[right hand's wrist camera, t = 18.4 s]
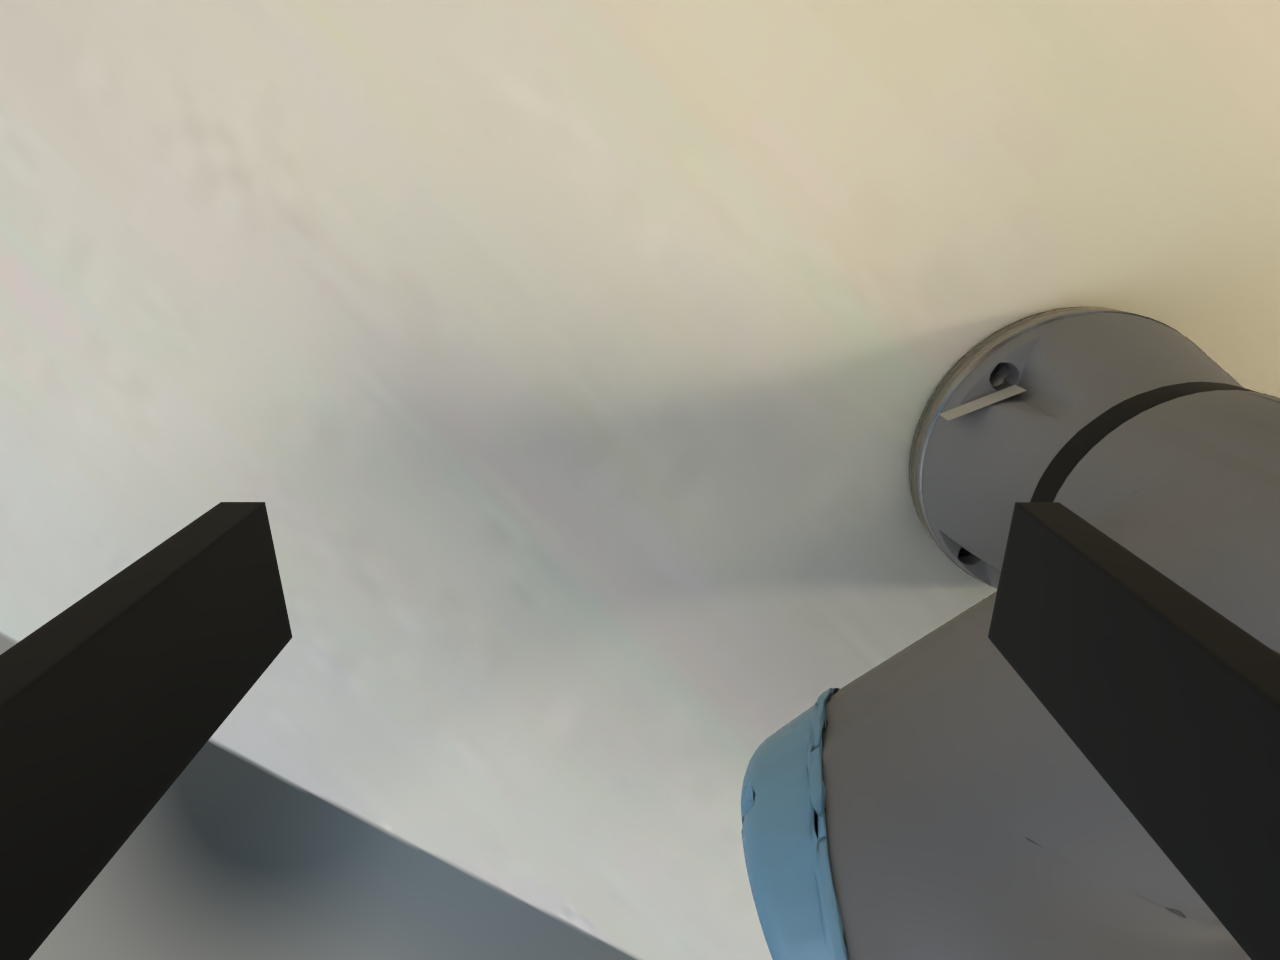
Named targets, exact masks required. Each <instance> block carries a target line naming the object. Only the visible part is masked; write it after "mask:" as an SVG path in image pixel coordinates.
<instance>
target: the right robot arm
mask: <svg viewBox="0 0 1280 960" xmlns="http://www.w3.org/2000/svg"><path fill="white" fill-rule="evenodd" d="M909 480H910V488H911V494H912V498H913V503H914V506H915V509H916V511H917V514H918V516H919V518H920V520H921V522H922V524H923V526H924V528H925V529H926V531H927V532H928V534H929V535H930V537H931V538H932V539H933V540H934V541H935V543H936V544H937V545H938V546H939V547H940V548H941V549H942V551H943V552H944V553H945V554H946V555H947V556H948V557H949V558H950V559H951V560H952V561H953V562H954V563H955V564H956V565H957V566H958V567H960V568H961V569H962V570H964V571H965V572H966V573H968V574H969V575H971V576H973V577H974V578H976V579H978V580H980V581H982V582H984V583H986V584H988V585H990V586H992V587H995V588H997V592H995V593H993V594H992V595H990V596H989V597H987V598H985V599H984V600H982V601H981V602H979V603H977V604H976V605H974V606H973V607H971V608H969V609H968V610H966V611H965V612H963V613H961V614H960V615H958V616H957V617H955V618H953V619H952V620H950V621H949V622H947V623H945V624H944V625H942V626H941V627H939V628H937V629H936V630H934V631H933V632H931V633H929V634H928V635H926V636H924V637H923V638H921V639H920V640H918V641H916V642H915V643H913V644H912V645H910V646H908V647H907V648H905V649H904V650H902V651H900V652H899V653H897V654H896V655H894V656H892V657H891V658H889V659H888V660H886V661H884V662H883V663H881V664H880V665H878V666H876V667H875V668H873V669H872V670H870V671H868V672H867V673H865V674H864V675H862V676H860V677H859V678H857V679H856V680H854V681H852V682H851V683H849V684H848V685H846V686H844V687H843V688H841V689H839V688H834V689H833V688H830V689H828V690H827V691H825V692H823V693H822V694H821V695H820V696H819V698H818V700H817V702H816V704H815V705H814V706H812V707H811V708H809V709H808V710H807V711H805V712H804V713H802V714H801V715H799V716H798V717H797V718H795V719H794V720H792V721H791V722H790V723H788V724H787V725H785V726H784V727H782V728H781V729H780V730H778V731H777V732H775V733H774V734H773V735H771V736H770V737H768V738H767V739H766V740H765V741H764V742H763V743H762V744H761V745H760V746H759V747H758V748H757V750H756V751H755V753H754V754H753V756H752V758H751V760H750V762H749V764H748V767H747V770H746V774H745V777H744V780H743V787H742V795H741V814H742V824H743V825H742V826H743V827H742V840H743V848H744V855H745V861H746V867H747V872H748V877H749V881H750V886H751V890H752V894H753V898H754V902H755V906H756V909H757V913H758V916H759V920H760V923H761V926H762V930H763V933H764V936H765V939H766V942H767V945H768V947H769V950H770V953H771V956H772V959H773V960H1280V398H1277V397H1274V396H1270V395H1266V394H1262V393H1258V392H1255V391H1252V390H1248V389H1245V388H1243V387H1242V386H1241V385H1240V384H1239V383H1238V382H1237V381H1236V380H1235V379H1233V378H1232V377H1231V376H1230V375H1229V374H1228V373H1227V372H1226V371H1224V370H1223V369H1222V368H1221V367H1220V366H1219V365H1218V364H1217V363H1215V362H1214V361H1213V360H1212V359H1211V358H1210V357H1208V356H1207V355H1206V354H1205V353H1204V352H1203V351H1202V350H1201V349H1200V348H1199V347H1198V346H1197V345H1195V344H1194V343H1193V342H1192V341H1191V340H1189V339H1188V338H1187V337H1185V336H1184V335H1182V334H1181V333H1179V332H1178V331H1177V330H1175V329H1173V328H1171V327H1169V326H1168V325H1166V324H1164V323H1161V322H1159V321H1156V320H1154V319H1151V318H1148V317H1144V316H1141V315H1137V314H1133V313H1128V312H1123V311H1118V310H1113V309H1106V308H1098V307H1073V308H1064V309H1058V310H1052V311H1048V312H1044V313H1040V314H1037V315H1034V316H1031V317H1028V318H1025V319H1023V320H1020V321H1018V322H1016V323H1014V324H1011V325H1009V326H1007V327H1006V328H1004V329H1002V330H1000V331H998V332H996V333H995V334H993V335H992V336H990V337H989V338H987V339H986V340H984V341H983V342H981V343H980V344H979V345H977V346H976V347H975V348H974V349H972V350H971V351H970V352H969V353H967V354H966V355H965V356H964V357H963V358H962V359H961V360H960V361H959V362H958V363H957V364H956V365H955V366H954V367H953V368H952V369H951V371H950V372H949V373H948V374H947V375H946V376H945V378H944V379H943V380H942V382H941V383H940V384H939V386H938V387H937V388H936V390H935V392H934V393H933V395H932V396H931V398H930V399H929V401H928V403H927V405H926V407H925V409H924V411H923V413H922V415H921V418H920V420H919V423H918V425H917V428H916V432H915V435H914V438H913V443H912V448H911V453H910V463H909ZM291 638H292V634H291V629H290V624H289V619H288V614H287V609H286V604H285V599H284V594H283V589H282V584H281V579H280V575H279V570H278V565H277V560H276V555H275V550H274V545H273V540H272V535H271V530H270V525H269V520H268V515H267V511H266V506H265V502H221V503H219V504H218V505H216V506H215V507H213V508H212V509H211V510H209V511H208V512H206V513H205V514H203V515H202V516H200V517H199V518H198V519H196V520H195V521H193V522H192V523H190V524H189V525H188V526H186V527H185V528H183V529H182V530H180V531H179V532H177V533H176V534H175V535H173V536H172V537H170V538H169V539H167V540H166V541H164V542H163V543H162V544H160V545H159V546H157V547H156V548H154V549H153V550H151V551H150V552H149V553H147V554H146V555H144V556H143V557H141V558H140V559H138V560H137V561H136V562H134V563H133V564H131V565H130V566H128V567H127V568H125V569H124V570H123V571H121V572H120V573H118V574H117V575H115V576H114V577H112V578H111V579H110V580H108V581H107V582H105V583H104V584H102V585H101V586H99V587H98V588H97V589H95V590H94V591H92V592H91V593H89V594H88V595H86V596H85V597H84V598H82V599H81V600H79V601H78V602H76V603H75V604H73V605H72V606H71V607H69V608H68V609H66V610H65V611H63V612H62V613H60V614H59V615H58V616H56V617H55V618H53V619H52V620H50V621H49V622H47V623H46V624H45V625H43V626H42V627H40V628H39V629H37V630H36V631H35V632H33V633H32V634H30V635H29V636H27V637H26V638H24V639H23V640H22V641H20V642H19V643H17V644H16V645H14V646H13V647H11V648H10V649H9V650H7V651H6V652H4V653H3V654H1V655H0V960H29V959H30V957H31V956H32V955H33V954H34V952H35V951H36V950H37V949H38V948H39V946H40V945H41V944H42V943H43V941H44V940H45V939H46V938H47V937H48V935H49V934H50V933H51V932H52V930H53V929H54V928H55V927H56V926H57V924H58V923H59V922H60V921H61V919H62V918H63V917H64V916H65V915H66V913H67V912H68V911H69V910H70V908H71V907H72V906H73V905H74V904H75V902H76V901H77V900H78V899H79V897H80V896H81V895H82V894H83V893H84V891H85V890H86V889H87V888H88V886H89V885H90V884H91V883H92V882H93V880H94V879H95V878H96V877H97V875H98V874H99V873H100V872H101V870H102V869H103V868H104V867H105V866H106V864H107V863H108V862H109V861H110V860H111V858H112V857H113V856H114V855H115V853H116V852H117V851H118V850H119V848H120V847H121V846H122V845H123V844H124V842H125V841H126V840H127V839H128V838H129V836H130V835H131V834H132V833H133V831H134V830H135V829H136V828H137V826H138V825H139V824H140V823H141V822H142V820H143V819H144V818H145V817H146V815H147V814H148V813H149V812H150V811H151V809H152V808H153V807H154V806H155V804H156V803H157V802H158V801H159V800H160V798H161V797H162V796H163V795H164V793H165V792H166V791H167V790H168V789H169V787H170V786H171V785H172V784H173V782H174V781H175V780H176V779H177V778H178V776H179V775H180V774H181V773H182V771H183V770H184V769H185V768H186V767H187V765H188V764H189V763H190V762H191V760H192V759H193V758H194V757H195V755H196V754H197V753H198V752H199V751H200V749H201V748H202V747H203V746H204V745H205V743H206V742H207V741H208V740H209V738H210V737H211V736H212V735H213V734H214V732H215V731H216V730H217V729H218V727H219V726H220V725H221V724H222V723H223V721H224V720H225V719H226V718H227V716H228V715H229V714H230V713H231V712H232V710H233V709H234V708H235V707H236V705H237V704H238V703H239V702H240V701H241V699H242V698H243V697H244V696H245V694H246V693H247V692H248V691H249V690H250V688H251V687H252V686H253V685H254V683H255V682H256V681H257V680H258V679H259V677H260V676H261V675H262V674H263V672H264V671H265V670H266V669H267V668H268V666H269V665H270V664H271V663H272V661H273V660H274V659H275V658H276V657H277V655H278V654H279V653H280V652H281V650H282V649H283V648H284V647H285V646H286V644H287V643H288V642H289V641H290V639H291Z"/></svg>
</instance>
